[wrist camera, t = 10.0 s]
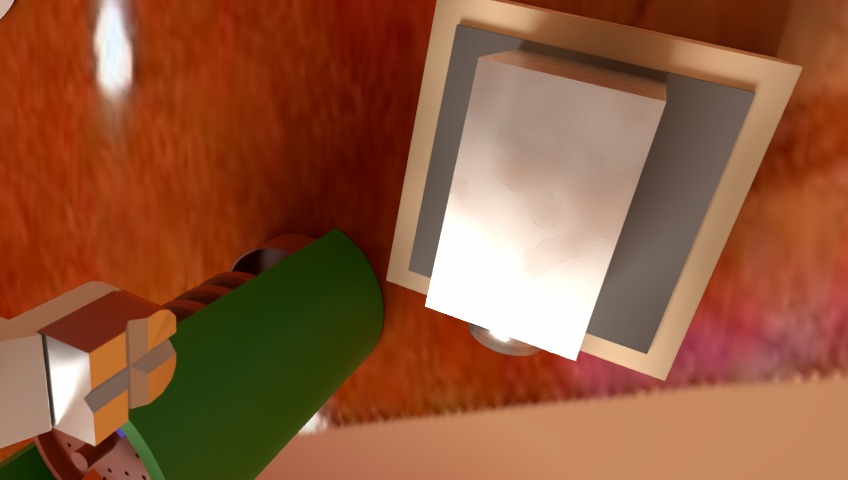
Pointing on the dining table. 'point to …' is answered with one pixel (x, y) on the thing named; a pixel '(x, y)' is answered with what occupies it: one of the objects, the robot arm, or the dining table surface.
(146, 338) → the robot arm
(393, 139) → the dining table surface
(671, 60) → the stand
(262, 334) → the motor
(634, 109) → the block
